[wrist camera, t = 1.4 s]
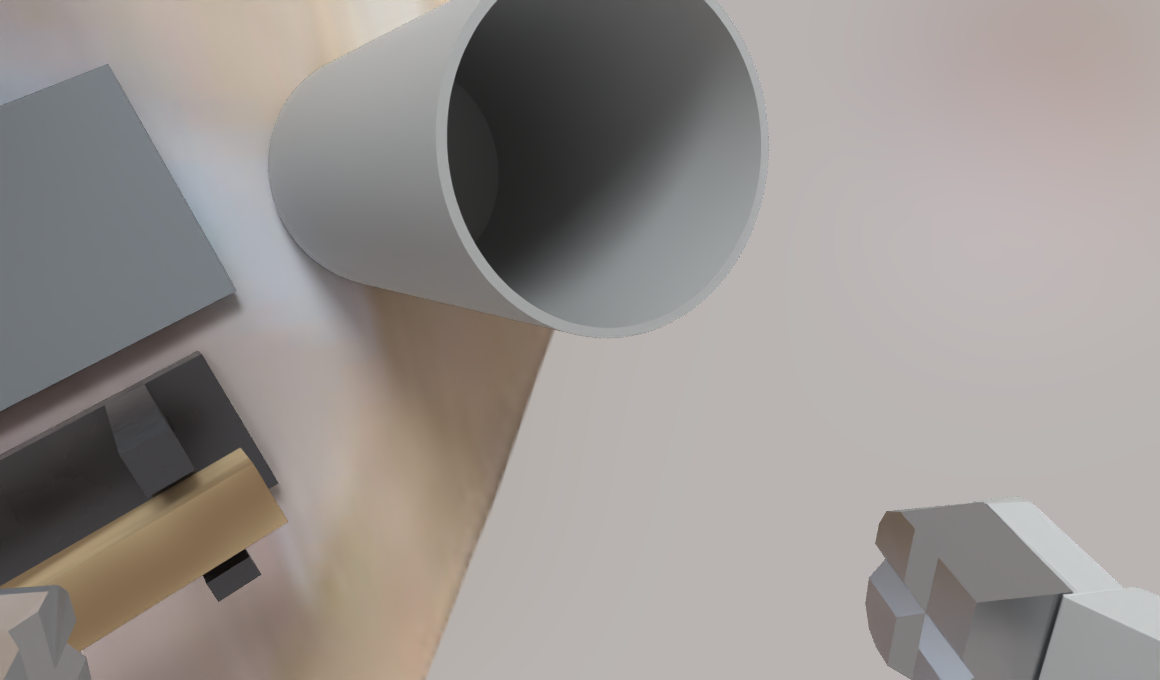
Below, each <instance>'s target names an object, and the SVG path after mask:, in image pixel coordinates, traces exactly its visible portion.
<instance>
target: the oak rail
mask: <svg viewBox="0 0 1160 680" xmlns="http://www.w3.org/2000/svg"><path fill="white" fill-rule="evenodd" d="M287 522H288V520H287V519H286V517H285V515H284V514H283V512H282V510H281V509H280V507H279V505H278V504H277V502H276V500H275V499H274V497H273V496H272V494H271V492H270V491H269V489H268V487H267V486H266V484H265V482H264V481H263V479H262V477H261V476H260V474H259V472H258V471H257V469H256V467H255V466H254V464H253V463H252V461H251V460H250V459H249V458H248V456H247V455H246V454H245V453H244V451H243V450H242V449H241V448H239V449H237V450H235V451H233V452H232V453H230V454H228V455H226V456H225V457H223V458H221V459H220V460H218V461H216V462H214V463H213V464H211V465H209V466H207V467H206V468H204V469H202V470H201V471H199V472H197V473H195V474H194V475H192V476H190V477H188V478H187V479H185V480H183V481H181V482H180V483H178V484H176V485H175V486H173V487H171V488H169V489H168V490H166V491H164V492H162V493H161V494H159V495H157V496H156V497H154V498H152V499H150V500H149V501H147V502H145V503H143V504H142V505H140V506H138V507H136V508H135V509H133V510H131V511H130V512H128V513H126V514H124V515H123V516H121V517H119V518H117V519H116V520H114V521H112V522H111V523H109V524H107V525H105V526H104V527H102V528H100V529H98V530H97V531H95V532H93V533H91V534H90V535H88V536H86V537H85V538H83V539H81V540H79V541H78V542H76V543H74V544H72V545H71V546H69V547H67V548H66V549H64V550H62V551H60V552H59V553H57V554H55V555H53V556H52V557H50V558H48V559H46V560H45V561H43V562H41V563H40V564H38V565H36V566H34V567H33V568H31V569H29V570H27V571H26V572H24V573H22V574H20V575H19V576H17V577H15V578H14V579H12V580H10V581H8V582H7V583H5V584H3V585H1V586H0V589H5V588H20V587H34V586H48V585H59V586H61V587H62V588H64V589H65V590H66V591H68V593H69V596H70V599H71V603H72V606H73V609H74V613H75V616H76V623H75V625H74V627H73V630H72V632H71V634H70V636H69V639H68V641H67V643H68V644H69V645H70V646H72V647H73V648H74V649H76V650H77V651H78V652H80V651H81V650H83V649H85V648H86V647H88V646H90V645H91V644H93V643H94V642H96V641H98V640H99V639H101V638H102V637H104V636H106V635H107V634H109V633H110V632H112V631H114V630H115V629H117V628H118V627H120V626H122V625H123V624H125V623H126V622H128V621H130V620H131V619H133V618H135V617H136V616H138V615H139V614H141V613H143V612H144V611H146V610H147V609H149V608H151V607H152V606H154V605H155V604H157V603H159V602H160V601H162V600H163V599H165V598H167V597H168V596H170V595H171V594H173V593H175V592H176V591H178V590H179V589H181V588H183V587H184V586H186V585H188V584H189V583H191V582H192V581H194V580H196V579H197V578H199V577H200V576H202V575H204V574H205V573H207V572H208V571H210V570H212V569H213V568H215V567H216V566H218V565H220V564H221V563H223V562H224V561H226V560H228V559H229V558H231V557H233V556H234V555H236V554H237V553H239V552H241V551H242V550H244V549H245V548H247V547H249V546H250V545H252V544H253V543H255V542H257V541H258V540H260V539H261V538H263V537H265V536H266V535H268V534H269V533H271V532H273V531H274V530H276V529H277V528H279V527H281V526H282V525H284V524H286V523H287Z"/></svg>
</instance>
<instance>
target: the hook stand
mask: <svg viewBox="0 0 1160 680" xmlns="http://www.w3.org/2000/svg"><path fill="white" fill-rule="evenodd" d="M239 448H241V449H242V450H243V451H244V453H245V454H246V455H247V456H248V458H249V459H250V460H251V461H252V463H253V464H254V466H255V467H256V469H257V471H258V472H259V474H260V476H261V477H262V479H263V481H264V482H265V484H266V486H267V487H268V489H270V488H271V487H273V486H275V485H276V484H278V482H277V480H276V478H275V477H274V475H273V473H272V471H271V470H270V468H269V466H268V465H267V463H266V461H265V460H264V458H263V456H262V455H261V453H260V451H259V450H258V448H257V446H256V445H255V443H254V441H253V440H252V438H251V436H250V435H249V433H248V431H247V430H246V428H245V426H244V425H243V423H242V421H241V419H240V418H239V416H238V414H237V413H236V411H235V409H234V408H233V406H232V404H231V403H230V401H229V399H228V398H227V396H226V394H225V393H224V391H223V389H222V388H221V386H220V384H219V383H218V381H217V379H216V378H215V376H214V374H213V372H212V371H211V369H210V367H209V366H208V364H207V362H206V361H205V359H204V357H203V356H202V354H201V353H200V352H199V351H197V352H195V353H193V354H191V355H189V356H187V357H185V358H183V359H182V360H180V361H178V362H176V363H174V364H172V365H170V366H168V367H166V368H164V369H163V370H161V371H159V372H157V373H155V374H153V375H151V376H149V377H147V378H146V379H144V380H142V381H140V382H138V383H136V384H134V385H132V386H130V387H128V388H127V389H125V390H123V391H121V392H119V393H117V394H115V395H113V396H111V397H109V398H108V399H106V400H104V401H102V402H100V403H98V404H96V405H94V406H92V407H90V408H89V409H87V410H85V411H83V412H81V413H79V414H77V415H75V416H73V417H71V418H70V419H68V420H66V421H64V422H62V423H60V424H58V425H56V426H54V427H52V428H51V429H49V430H47V431H45V432H43V433H41V434H39V435H37V436H35V437H33V438H32V439H30V440H28V441H26V442H24V443H22V444H20V445H18V446H16V447H14V448H13V449H11V450H9V451H7V452H5V453H3V454H1V455H0V586H1V585H3V584H5V583H7V582H8V581H10V580H12V579H14V578H15V577H17V576H19V575H20V574H22V573H24V572H26V571H27V570H29V569H31V568H33V567H34V566H36V565H38V564H40V563H41V562H43V561H45V560H46V559H48V558H50V557H52V556H53V555H55V554H57V553H59V552H60V551H62V550H64V549H66V548H67V547H69V546H71V545H72V544H74V543H76V542H78V541H79V540H81V539H83V538H85V537H86V536H88V535H90V534H91V533H93V532H95V531H97V530H98V529H100V528H102V527H104V526H105V525H107V524H109V523H111V522H112V521H114V520H116V519H117V518H119V517H121V516H123V515H124V514H126V513H128V512H130V511H131V510H133V509H135V508H136V507H138V506H140V505H142V504H143V503H145V502H147V501H149V500H150V499H152V498H154V497H156V496H157V495H159V494H161V493H162V492H164V491H166V490H168V489H169V488H171V487H173V486H175V485H176V484H178V483H180V482H181V481H183V480H185V479H187V478H188V477H190V476H192V475H194V474H195V473H197V472H199V471H201V470H202V469H204V468H206V467H207V466H209V465H211V464H213V463H214V462H216V461H218V460H220V459H221V458H223V457H225V456H226V455H228V454H230V453H232V452H233V451H235V450H237V449H239ZM260 575H261V573H260V572H259V570H258V568H257V566H256V565H255V563H254V561H253V560H252V558H251V556H250V555H249V553H248V551H247V550H246V548H245V549H244V550H242V551H241V552H239V553H237V554H236V555H234V556H233V557H231V558H229V559H228V560H226V561H224V562H223V563H221V564H220V565H218V566H216V567H215V568H213V569H212V570H210V571H208V572H207V573H205V574H204V575H203V577H204V579H205V581H206V584H207V585H208V587H209V588H210V590H211V591H212V593H213V594H214V596H215V597H216V599H217V600H218V602H219V601H221V600H222V599H224V598H225V597H227V596H228V595H230V594H232V593H233V592H235V591H236V590H238V589H239V588H241V587H243V586H244V585H246V584H247V583H249V582H250V581H252V580H254V579H255V578H257V577H258V576H260Z"/></svg>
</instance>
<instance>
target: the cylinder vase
mask: <svg viewBox="0 0 1160 680" xmlns="http://www.w3.org/2000/svg"><path fill="white" fill-rule="evenodd" d="M768 153H769V136H768V122H767V114H766V107H765V102H764V96H763V92H762V88H761V85H760V81H759V77H758V74H757V71H756V68H755V65H754V63H753V60H752V58H751V55H750V53H749V51H748V48H747V46H746V44H745V42H744V40H743V38H742V37H741V35H740V33H739V31H738V30H737V28H736V26H735V25H734V23H733V22H732V20H731V18H730V17H729V15H728V14H727V13H726V12H725V10H724V9H723V7H722V6H721V5H720V4H719V2H718V1H717V0H451V1H449V2H447V3H445V4H443V5H441V6H439V7H437V8H435V9H433V10H431V11H429V12H427V13H425V14H423V15H421V16H419V17H417V18H416V19H414V20H412V21H410V22H408V23H406V24H404V25H402V26H400V27H398V28H396V29H394V30H392V31H390V32H388V33H386V34H384V35H382V36H381V37H379V38H377V39H375V40H373V41H371V42H369V43H367V44H365V45H363V46H361V47H359V48H357V49H355V50H353V51H351V52H349V53H347V54H346V55H344V56H342V57H340V58H338V59H336V60H334V61H332V62H330V63H328V64H326V65H324V66H323V67H321V68H319V69H318V70H316V71H315V72H313V73H312V74H311V75H309V76H308V77H307V78H306V79H305V80H304V81H303V82H302V83H301V84H300V85H299V86H298V87H297V88H296V89H295V90H294V91H293V93H292V94H291V95H290V97H289V98H288V99H287V101H286V103H285V104H284V106H283V108H282V109H281V111H280V113H279V116H278V118H277V120H276V123H275V126H274V129H273V132H272V136H271V141H270V146H269V155H268V173H269V182H270V187H271V192H272V196H273V200H274V203H275V206H276V208H277V211H278V213H279V215H280V217H281V220H282V221H283V223H284V225H285V227H286V229H287V230H288V232H289V233H290V235H291V236H292V237H293V239H294V240H295V241H296V243H297V244H298V245H299V246H300V247H301V248H302V249H303V251H304V252H305V253H307V254H308V255H309V256H310V257H311V258H312V259H313V260H314V261H316V262H317V263H318V264H320V265H321V266H323V267H324V268H326V269H327V270H329V271H331V272H332V273H334V274H336V275H338V276H341V277H343V278H345V279H348V280H351V281H354V282H357V283H361V284H365V285H369V286H374V287H378V288H382V289H386V290H390V291H395V292H399V293H403V294H407V295H411V296H416V297H420V298H424V299H428V300H432V301H437V302H441V303H445V304H449V305H453V306H458V307H462V308H466V309H470V310H474V311H479V312H483V313H487V314H491V315H495V316H499V317H504V318H508V319H512V320H516V321H520V322H525V323H529V324H533V325H537V326H541V327H546V328H550V329H554V330H559V331H563V332H567V333H571V334H575V335H580V336H586V337H594V338H620V337H628V336H634V335H638V334H642V333H646V332H649V331H652V330H655V329H658V328H660V327H663V326H665V325H667V324H669V323H671V322H673V321H675V320H677V319H679V318H680V317H682V316H683V315H685V314H687V313H688V312H690V311H691V310H692V309H694V308H695V307H696V306H697V305H699V304H700V303H701V302H702V301H703V300H705V299H706V298H707V297H708V296H709V295H710V294H711V293H712V292H713V291H714V290H715V289H716V288H717V287H718V285H719V284H720V283H721V282H722V281H723V280H724V278H725V277H726V276H727V274H728V273H729V272H730V271H731V269H732V268H733V266H734V265H735V263H736V261H737V260H738V258H739V257H740V255H741V253H742V251H743V249H744V248H745V246H746V243H747V241H748V239H749V237H750V235H751V232H752V230H753V227H754V225H755V222H756V220H757V216H758V213H759V210H760V206H761V202H762V199H763V194H764V190H765V184H766V177H767V168H768V156H769V155H768Z"/></svg>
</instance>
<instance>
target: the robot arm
mask: <svg viewBox="0 0 1160 680" xmlns="http://www.w3.org/2000/svg"><path fill="white" fill-rule="evenodd" d="M875 544H876V545H877V547H878V548H879V550H880V551H881V553H882V554H883V556H884V557H885V560H884V561H883V562H882V564H881V565H880V566H879V567H878V568H877V569H876V570H875V571H874V572H873V574H872V575H871V576H870V577H869V581H868V588H867V595H866V602H865V603H866V611H867V618H868V625H869V630H870V633H871V635H872V638H873V641H874V643H875V646H876V648H877V649H878V651H879V653H880V654H881V656H882V658H883V659H884V661H885V662H886V664H887V666H889V667H891V668H893V669H894V670H896V671H898V672H899V673H901V674H903V675H904V676H906V677H908V678H909V679H911V680H1160V596H1158V595H1155V594H1153V593H1151V592H1148V591H1146V590H1143V589H1141V588H1138V587H1132V588H1123V587H1122V586H1121V585H1120V584H1119V583H1118V582H1116V580H1114V579H1113V578H1112V577H1111V576H1110V575H1109V574H1108V573H1107V572H1106V571H1105V570H1104V569H1103V568H1102V567H1100V566H1099V565H1098V564H1097V563H1096V562H1095V561H1094V560H1093V559H1092V558H1091V557H1090V556H1089V555H1088V554H1087V553H1085V552H1084V551H1083V550H1082V549H1081V548H1080V547H1079V546H1078V545H1077V544H1076V543H1075V542H1074V541H1073V540H1071V539H1070V538H1069V537H1068V536H1067V535H1066V534H1065V533H1064V532H1063V531H1062V530H1061V529H1059V528H1058V527H1057V526H1056V525H1055V524H1054V523H1053V522H1052V521H1051V520H1050V519H1049V518H1048V517H1047V516H1046V515H1045V514H1044V513H1042V512H1041V511H1040V510H1039V509H1038V508H1037V507H1036V506H1035V505H1034V504H1033V503H1032V502H1030V501H1028V500H1025V499H1023V498H1020V497H1018V496H1014V497H1006V498H998V499H990V500H980V501H974V502H973V503H968V504H957V505H947V506H936V507H927V508H916V509H905V510H894V511H886V513H885V515H884V516H883V518H882V520H881V521H880V523H879V527H878V532H877V537H876V542H875ZM75 623H76V616H75V613H74V609H73V606H72V603H71V599H70V596H69V593H68V591H66V590H65V589H64V588H62V587H61V586H59V585H48V586H34V587H20V588H5V589H0V680H91V676H90V672H89V668H88V663H87V659H86V657H85V656H83V655H82V654H81V653H80V652H78V651H77V650H76V649H74V648H73V647H72V646H70V645H69V644H68V643H67V641H68V639H69V636H70V634H71V632H72V630H73V627H74V625H75Z"/></svg>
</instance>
